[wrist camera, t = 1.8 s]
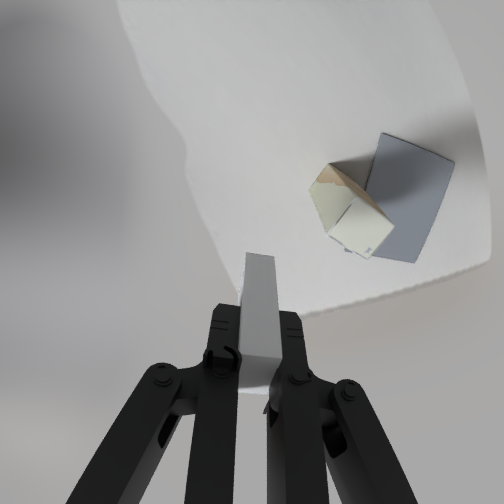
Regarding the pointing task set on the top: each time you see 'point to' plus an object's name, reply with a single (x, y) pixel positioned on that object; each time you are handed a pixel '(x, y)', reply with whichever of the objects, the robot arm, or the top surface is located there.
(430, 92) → the top surface
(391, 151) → the mat
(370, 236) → the box
